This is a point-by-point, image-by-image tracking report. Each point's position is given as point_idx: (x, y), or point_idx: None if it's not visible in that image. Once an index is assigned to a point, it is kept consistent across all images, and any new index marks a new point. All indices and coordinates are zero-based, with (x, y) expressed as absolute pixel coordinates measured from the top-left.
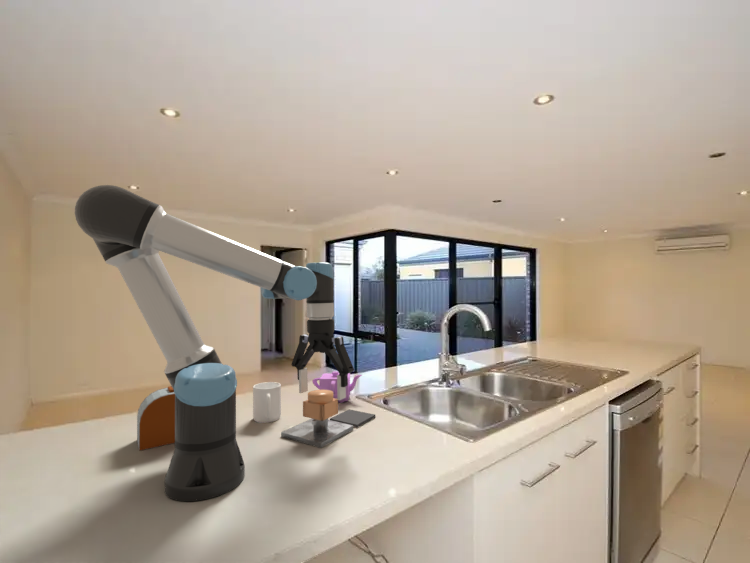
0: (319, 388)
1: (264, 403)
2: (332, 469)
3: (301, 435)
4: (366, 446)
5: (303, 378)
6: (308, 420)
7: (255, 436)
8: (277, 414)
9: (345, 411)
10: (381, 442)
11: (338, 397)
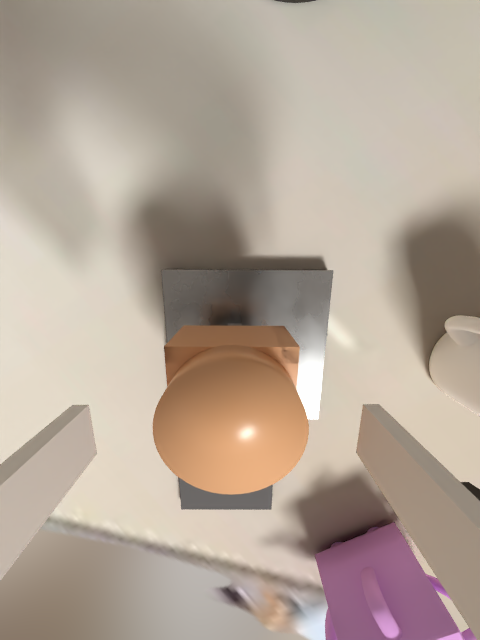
0: (425, 575)
1: None
2: (41, 174)
3: (254, 283)
4: (73, 341)
5: (430, 511)
6: (317, 386)
7: (405, 228)
8: (441, 369)
9: (269, 492)
10: (60, 380)
11: (70, 413)
